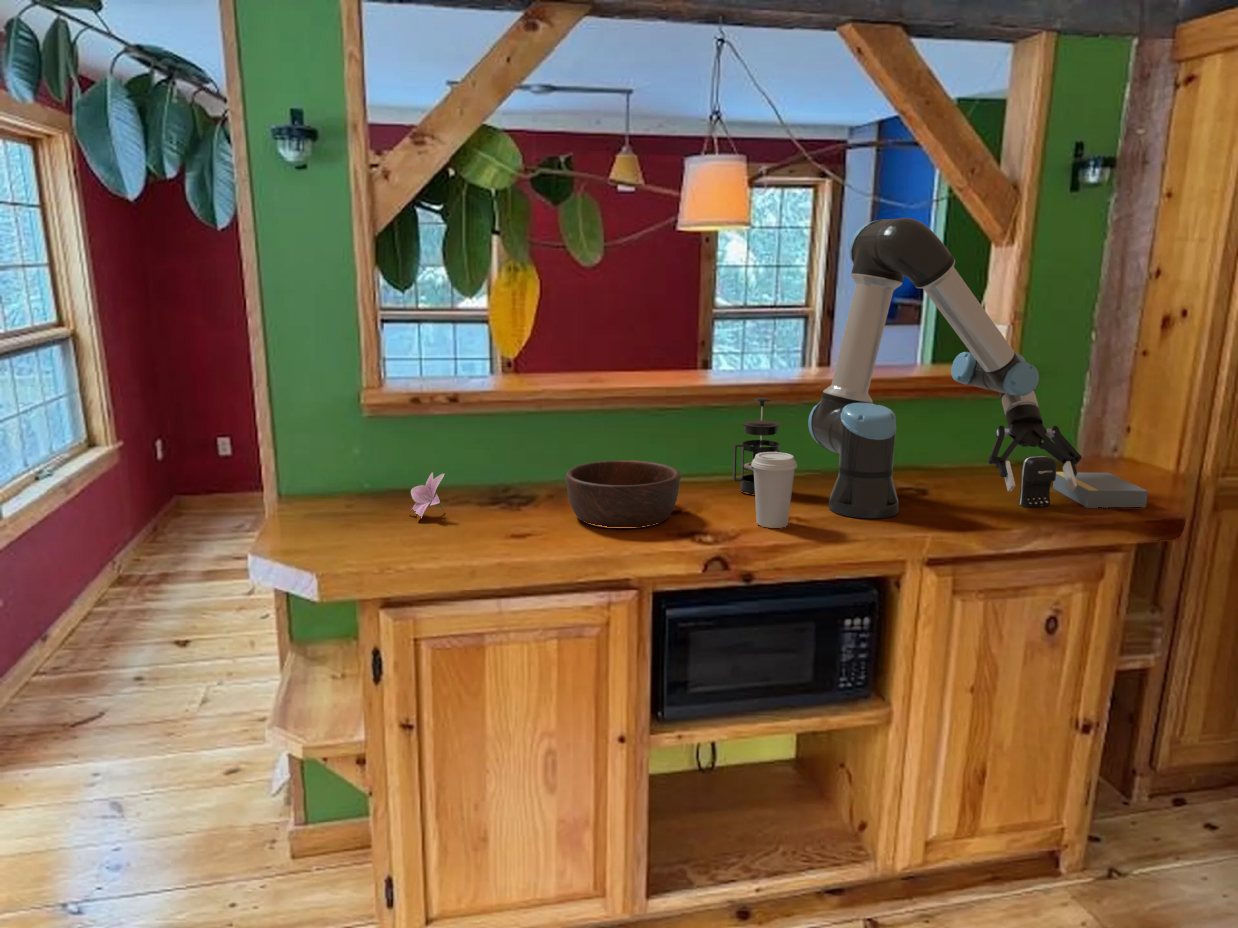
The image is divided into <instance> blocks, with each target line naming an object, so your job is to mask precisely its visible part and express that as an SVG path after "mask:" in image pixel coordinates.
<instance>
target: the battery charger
mask: <svg viewBox="0 0 1238 928" xmlns="http://www.w3.org/2000/svg"><path fill="white" fill-rule="evenodd" d="M1056 472H1057V462H1056V460H1055V459H1053V458H1051V457H1048V456H1043V455H1040V456H1036V455H1035V456H1029V457H1027V456H1026V457H1025V458H1024V460H1023V461H1022V466H1021V473H1020V488H1019V489H1020V490H1019V500H1018V504H1019V505H1020V506H1021V507H1025V508H1026V507H1027V508H1044V507H1045V508H1046V507H1050V505H1051V498H1050V496H1051V495H1050V491H1051V486H1052V485H1051V484H1052V483H1053V481H1055V479H1056Z"/></svg>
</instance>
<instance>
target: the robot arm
mask: <svg viewBox="0 0 1238 928" xmlns="http://www.w3.org/2000/svg"><path fill="white" fill-rule="evenodd" d="M849 257H850V259H851V262H852V264H853V265H852V270H851V273H850V276H851V278H852V279H853V281H854V282H855V286H854V290H853V294H852V297H851V302H850V306H849V310H848V315H847V320H846V324H845V328H844V331H843V336H842V340H841V344H840V348H839V352H838V357H837V360H836V365H835V368H834V373H833V376H832V381H831V384H830V385H829V386H827V388H825V389H824V390H822V394H821V397H820V398H821V399H820V401H819V402H818V403H817V404H816V405H814V406H813V408H812V409H811V411H810V413H809V416H808V420H807V421H808V422H807V423H808V425H807V426H808V430H809V434H810V435H811V438H812V439H813V440H814V441H815V442H816V443H817V445H820V447H822V448H823V449H825V450H827V451H829V452H830V451H831V452H833V453H835V454H837V455H839V458H838V459H839V460H838V462H839V463H838V476H837V478H836V480H835V483H834V485H833V488H832V491H831V493H830V496H829V501H828V502H829V503H828V509H829V510H830V511H831V512H833V513H835V514H838V515H842V516H845V517H851V518H858V519H885V518H890V517H894V516H896V515H897V514H898V513H899V506H900V502H899V499H898V495H897V491H896V487H895V484H894V483H895V482H894V480H893V472H894V471H893V470H894V460H895V459H894V458H895V457H894V455H895V441H896V432H897V419H896V418H897V417H896V414H895V413H894V411H893V410H892V409H890V408H889V407H886V406H884V405H881V404H875V403H873V399H872V398H871V395H870V394H869V390H870V385H871V383H872V377H873V374H874V370H875V366H876V361H877V358H878V353H879V350H880V346H881V341H882V338H883V334H884V330H885V326H886V322H887V319H888V314H889V309H890V306H891V302H892V297H893V294H894V291H895V290H896V289H898V288H899V287H901V286H902V285H903V282H904V278H905V277H906V278H908V279H909V280H910V281H911V283H912V284H913V285H914V287H915V288H916V289H923V290H924V292H925V293H926V294H927V296H928V297H929V298H930V300H931V301H932V302H933V304H934V305H935V307H936V308H937V310H938V311H939V312H940V313H941V315H942V316H943V317H944V318H945V320H946V321H947V322H948V324H949V326H950V327H951V328H952V329H953V331H954V332H955V333H956V335H957V336H958V338H959V339H960V340H961V341H962V343H963V344H964V345H965V347H966V348H967V350H968V351H963V352H960V353H959V354H957V355H956V357H955V358H954V360H953V362H952V364H951V370H950V374H951V377H952V379H953V380H954V381H955V382H956V383H960V384H963V385H966V386H972V387H976V388H980V389H984V390H990V391H993V392H994V391H995V392H998V393H999V394H998V395H999V397H1000V401H1001V403H1002V408H1003V411H1004V415H1005V421H1006V424H1007V428H1005V426H1003V425H999V427H998V428H997V430H996V431H995V441H994V444H993V446H992V450H991V452H990V455H989V458H988V461H987V462H988V464H990V465H995V468H997V469H998V473H999V476H1000V478H1004V483H1005V485H1006V489H1007V492H1008V493H1009V492H1012V491H1013V490H1014V489H1015V487H1016V482H1015V477H1014V475H1013V470H1012V466H1011V462H1010V460H1008V458H1009V457H1010V456H1011V454H1012V453H1013V452H1014V451H1015V449H1016V448H1017V447H1018V446H1021V447H1022V448H1026V447H1027V448H1028V447H1031V448H1035V447H1038V448H1039V449H1041V450H1044V451H1045V452H1047V453H1048V454H1050V455H1051V456H1052V457H1053V458H1055V459H1056V460H1057V461H1059V462H1060V463H1061V464H1062V465H1063V466H1062V472H1064V476H1065V479H1066V483H1067V486H1068V490H1069V492H1073V491H1074V489H1075V488H1076V487H1077V483H1076V480H1075V476H1076V475H1077V472H1078V471H1077V469H1076V466H1077V465H1078V463H1079V462H1080V461H1081V459H1082V455H1081V454H1080V453H1079V451H1077V449H1076V448H1075V447H1074V446H1073V445H1072V444H1071V443H1070V441H1068V439H1066V437H1064V435H1063V434H1062V433H1061V430H1060V427H1058V426H1057V425H1054V426H1052V427H1051V428H1046V427H1045V426H1044V423H1043V417H1042V414H1041V410H1040V407H1039V402H1038V399H1037V396H1036V393H1035V390H1036V387H1037V386H1038V384H1039V380H1040V379H1039V378H1040V375H1039V371H1038V369H1037V367H1035V365H1033V364H1031V363H1029V362H1026V359H1025V358H1024V356H1022V355H1021V354H1020V353H1016V352H1015V351H1014V349H1013V348H1012V346H1011V344H1010V343H1009V342H1008V340H1006V338H1005V337H1004V335H1003V334H1002V332H1001V331H1000V330H999V328H998V326H996V323H994V321H993V320H992V318H991V317H990V316H989V314H988V313H987V311H986V310H985V309H984V307H983V306H982V305H981V303H980V302H979V300H978V298H977V297H976V296H975V295H974V293H973V292H972V291H971V289H970V287H969V286H968V285H967V284H966V282H965V281H964V279H963V278H962V276H961V275H960V274H959V272H958V271H957V269H956V268H955V264H956V259H955V258H954V256H953V255H952V254H951V252H950V251H949V249H948V248H947V247H946V246H945V244H944V243H943V241H942V240H941V239H940V238H939V237H938V236H937V234H936V233H935V232H933V230H932V229H931V228H929V226H928V225H926V224H925V223H923V222H921V221H920V220H918V219H914V218H911V217H900V218H890V219H888V218H886V219H883V218H881V219H876V220H873V221H869V222H868V223H866V224H864V225H863V226H861V227H860V228H859V229H857V231H856V232H855V234H854V235H853V236H852V238H851V241H850V244H849ZM1007 436H1008V437H1010V438H1011V439H1012V442H1011V443H1010V444H1009V445H1008V447H1007V448H1006V449H1005V451H1004V452H1003V453H1002V455H1000V456H998V455H999V452H1000V450H1001V448H1002V447H1001V446H1002V444H1003V441H1004V438H1006V437H1007ZM1042 441H1043V442H1042Z"/></svg>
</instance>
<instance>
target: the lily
mask: <svg viewBox="0 0 1238 928" xmlns="http://www.w3.org/2000/svg"><path fill="white" fill-rule="evenodd" d="M444 476H445V473H441V474H439V475H438V476H436V477H435V478H434V472H433V471H432V472H431V473H430V474H429V476H428V478H427V480H426V482H425V485H424V484H421V485H417V486H414V487H413V488H411V490H410V495H411V498H412V500H413V501H414V503H415V504H414V505H413V507H411V510H412V509H413V510H414V511H416V512H415V515H416V514H418V515H419V516H421V519H422V517H423V515H424V513H425V511H426V510H427V507H428V506H429V507H430V506H434V505H438V506H439V507H440V509H441V510H442V509H444V508H443V507H442V505H441V504H440V502H441V501H440V498H439V496H438V493H437V491H436V490H437V488H438V486H439V485H440V483H441V482H442V480H443V478H444Z"/></svg>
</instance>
